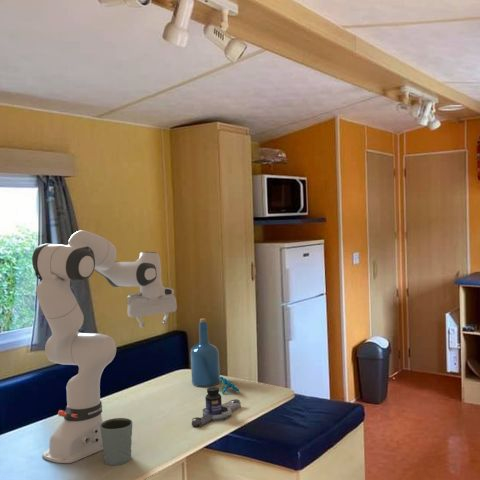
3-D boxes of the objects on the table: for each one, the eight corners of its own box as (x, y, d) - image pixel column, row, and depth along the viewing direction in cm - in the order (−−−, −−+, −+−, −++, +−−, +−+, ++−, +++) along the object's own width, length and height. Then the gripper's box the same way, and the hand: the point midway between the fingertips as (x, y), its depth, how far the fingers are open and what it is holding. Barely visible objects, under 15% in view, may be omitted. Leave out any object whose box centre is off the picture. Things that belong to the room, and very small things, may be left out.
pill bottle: (213, 421, 212) (211, 392, 211) (203, 417, 217) (201, 389, 216) (225, 416, 216) (224, 388, 215) (215, 412, 221) (214, 385, 220)
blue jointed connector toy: (243, 390, 241) (226, 376, 239) (235, 402, 239) (218, 388, 237) (233, 387, 251) (217, 373, 249) (226, 398, 249) (209, 384, 247)
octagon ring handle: (204, 430, 203) (204, 423, 203) (183, 424, 210) (182, 417, 210) (248, 408, 224) (248, 401, 224) (228, 403, 231) (227, 397, 230)
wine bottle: (226, 381, 261) (223, 317, 259) (207, 389, 250) (204, 322, 249) (204, 377, 269) (201, 315, 267) (185, 384, 259) (181, 320, 257)
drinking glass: (96, 460, 183) (94, 424, 182) (123, 449, 190) (120, 415, 189) (113, 469, 175) (111, 431, 175) (140, 458, 183) (138, 422, 182)
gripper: (129, 295, 218) (131, 330, 218) (177, 289, 228) (179, 323, 229) (123, 293, 223) (125, 328, 224) (171, 288, 234) (173, 321, 234)
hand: (153, 325), depth 226 cm, fingers open, 8 cm apart
